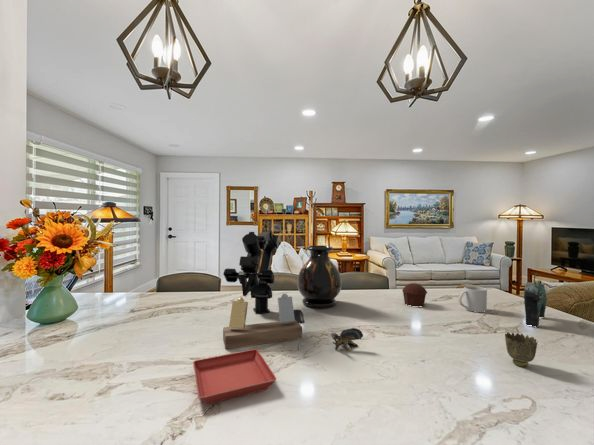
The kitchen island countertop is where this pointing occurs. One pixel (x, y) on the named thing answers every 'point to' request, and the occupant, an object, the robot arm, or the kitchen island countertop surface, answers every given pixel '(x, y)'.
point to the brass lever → (238, 314)
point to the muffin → (414, 294)
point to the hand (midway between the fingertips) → (244, 295)
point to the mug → (474, 298)
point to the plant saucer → (232, 375)
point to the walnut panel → (261, 334)
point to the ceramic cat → (534, 302)
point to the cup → (521, 348)
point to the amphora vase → (319, 279)
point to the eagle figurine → (346, 337)
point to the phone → (298, 316)
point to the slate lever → (286, 309)
